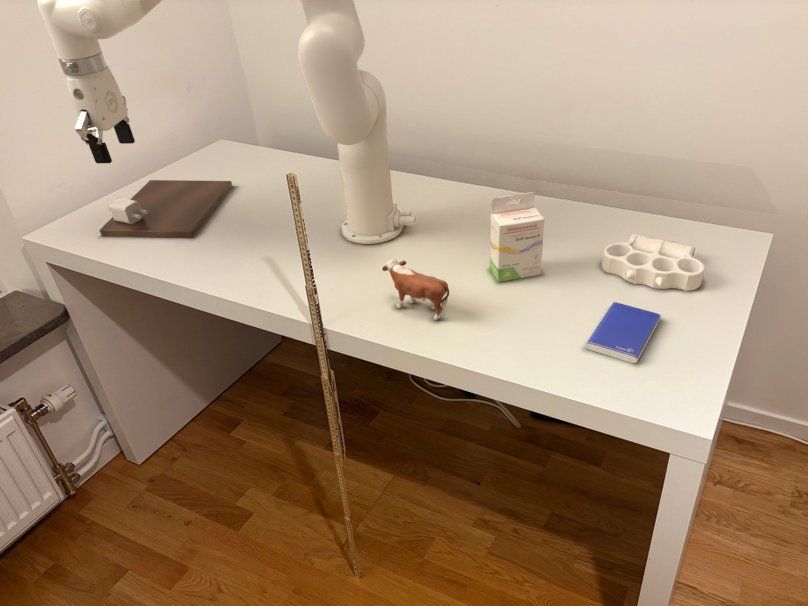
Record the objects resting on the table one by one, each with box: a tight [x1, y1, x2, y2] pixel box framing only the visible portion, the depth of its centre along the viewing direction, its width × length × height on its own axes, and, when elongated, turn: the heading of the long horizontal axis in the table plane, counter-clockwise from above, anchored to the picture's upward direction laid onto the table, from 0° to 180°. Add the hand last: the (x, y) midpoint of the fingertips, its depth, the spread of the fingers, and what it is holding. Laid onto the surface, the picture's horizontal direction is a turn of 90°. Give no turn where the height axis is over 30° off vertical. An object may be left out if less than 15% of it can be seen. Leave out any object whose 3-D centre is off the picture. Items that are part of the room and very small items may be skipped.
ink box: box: [489, 191, 545, 283], centre depth 124 cm, size 9×5×15 cm, turn 105°
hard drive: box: [585, 301, 661, 364], centre depth 112 cm, size 2×8×12 cm
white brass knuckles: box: [601, 233, 705, 292], centre depth 126 cm, size 3×18×15 cm
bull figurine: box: [381, 258, 450, 321], centre depth 118 cm, size 4×13×8 cm, turn 55°
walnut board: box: [98, 179, 234, 239], centre depth 153 cm, size 20×24×2 cm
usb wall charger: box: [108, 197, 147, 224], centre depth 146 cm, size 4×7×4 cm, turn 66°
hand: (116, 152), depth 139 cm, fingers open, 9 cm apart
